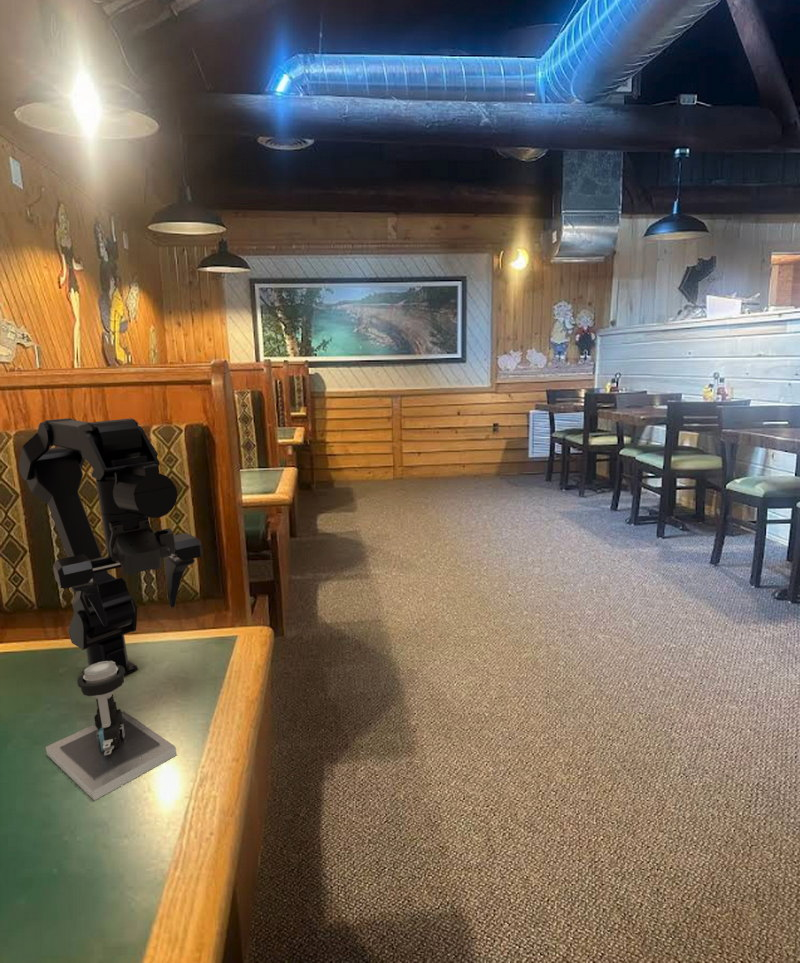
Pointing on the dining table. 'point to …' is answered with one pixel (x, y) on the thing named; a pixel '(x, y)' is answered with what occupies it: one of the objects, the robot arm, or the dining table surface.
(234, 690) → the dining table surface
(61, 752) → the mounting plate
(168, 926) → the dining table surface
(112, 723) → the push button
